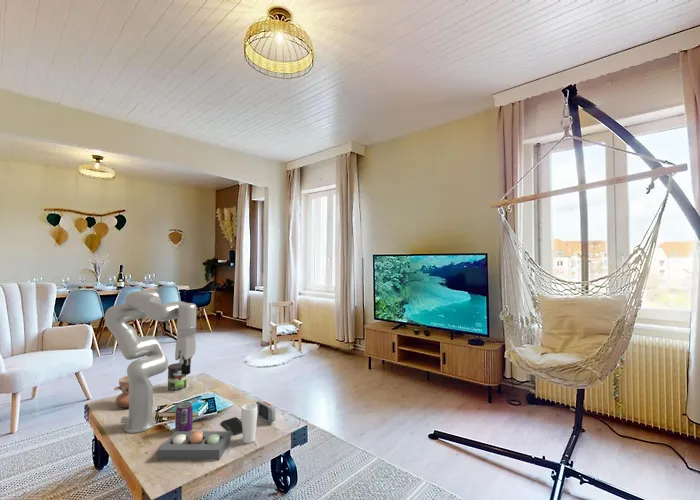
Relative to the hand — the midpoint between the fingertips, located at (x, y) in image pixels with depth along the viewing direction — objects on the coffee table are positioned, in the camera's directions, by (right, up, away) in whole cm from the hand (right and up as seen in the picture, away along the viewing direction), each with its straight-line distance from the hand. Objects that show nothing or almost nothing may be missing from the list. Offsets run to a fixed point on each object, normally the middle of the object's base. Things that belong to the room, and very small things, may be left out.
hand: (185, 373), depth 149 cm
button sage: (+15, -28, -7) cm, 32 cm away
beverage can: (-5, -29, +8) cm, 31 cm away
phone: (+17, -30, +12) cm, 37 cm away
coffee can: (-32, -29, +55) cm, 70 cm away
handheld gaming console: (+30, -30, +20) cm, 47 cm away
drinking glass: (+28, -30, 0) cm, 41 cm away
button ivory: (+1, -27, -7) cm, 28 cm away
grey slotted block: (+8, -29, -7) cm, 31 cm away
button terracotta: (+8, -26, -7) cm, 28 cm away
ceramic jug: (-45, -29, +35) cm, 64 cm away
